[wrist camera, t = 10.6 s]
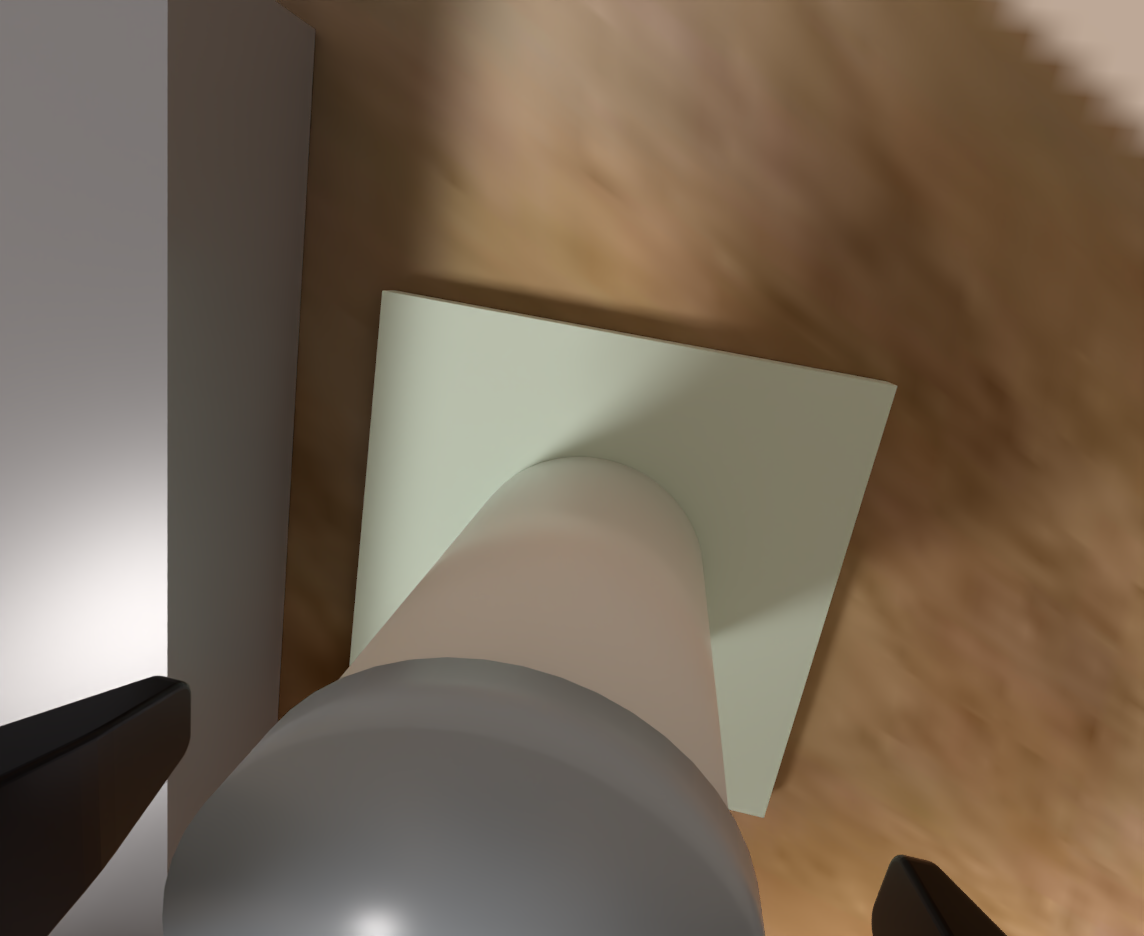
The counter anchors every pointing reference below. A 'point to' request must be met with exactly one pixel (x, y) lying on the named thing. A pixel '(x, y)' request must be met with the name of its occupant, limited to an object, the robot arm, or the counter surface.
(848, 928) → the counter surface
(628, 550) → the cylinder
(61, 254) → the housing
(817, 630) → the mat
